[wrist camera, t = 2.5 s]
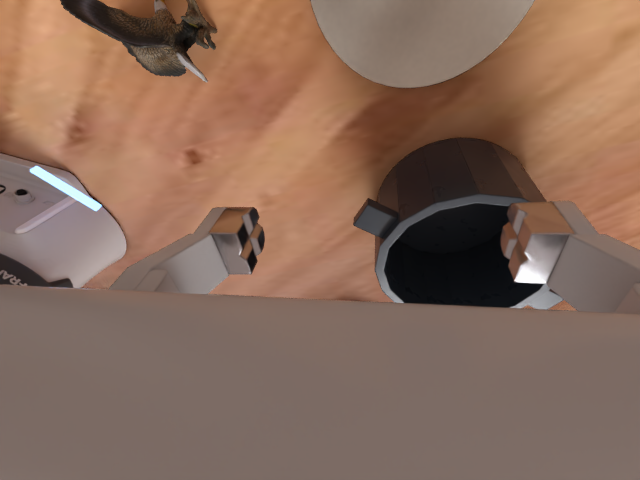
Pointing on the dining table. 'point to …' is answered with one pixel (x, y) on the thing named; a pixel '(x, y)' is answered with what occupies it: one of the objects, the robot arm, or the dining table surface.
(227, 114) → the dining table surface
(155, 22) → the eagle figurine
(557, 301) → the pot
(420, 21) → the lid
